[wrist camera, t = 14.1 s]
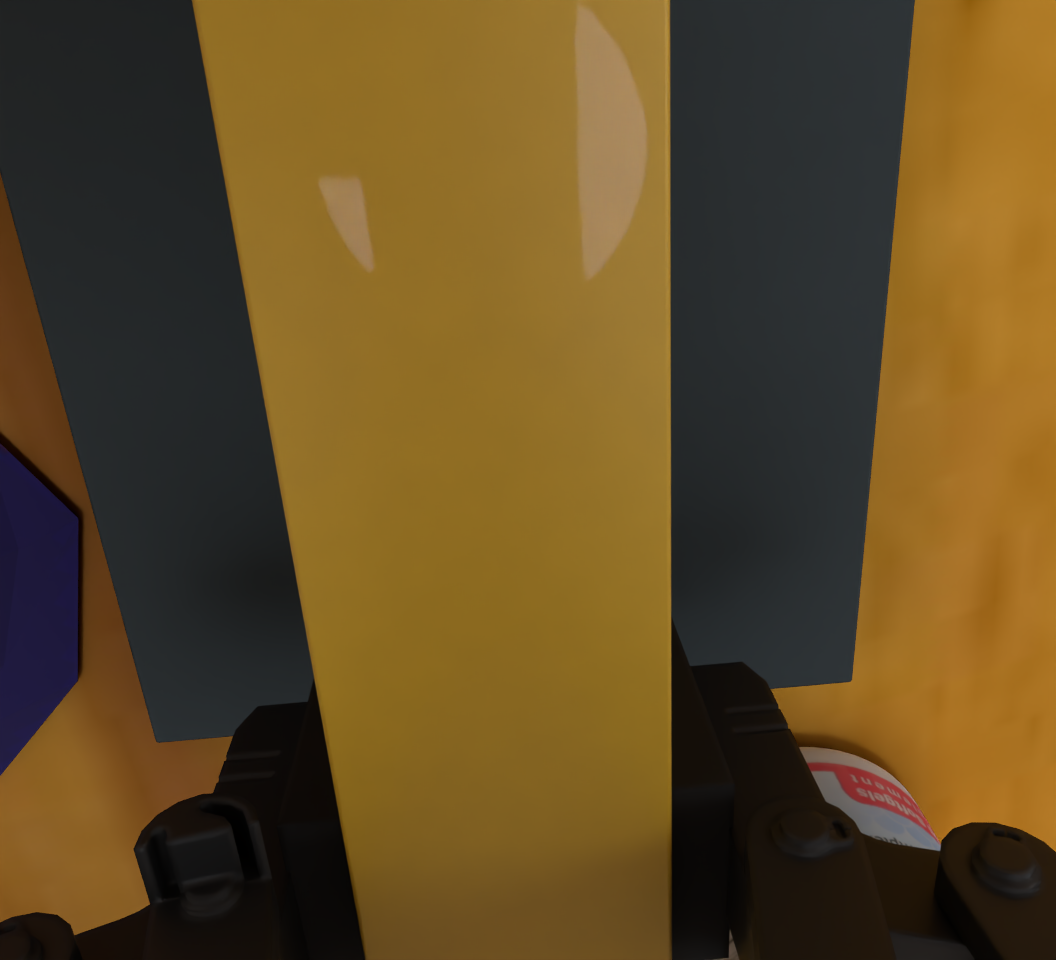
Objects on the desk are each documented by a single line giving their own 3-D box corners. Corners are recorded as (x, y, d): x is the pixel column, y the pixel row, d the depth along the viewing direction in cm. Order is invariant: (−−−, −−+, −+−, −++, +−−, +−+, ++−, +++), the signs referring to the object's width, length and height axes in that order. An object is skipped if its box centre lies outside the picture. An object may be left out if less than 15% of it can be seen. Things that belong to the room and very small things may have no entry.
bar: (213, -419, 9) (57, -727, 5) (595, -438, 9) (669, -750, 5) (409, 892, 15) (392, 1116, 12) (629, 872, 15) (673, 1088, 12)
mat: (-91, -233, 13) (-117, -247, 12) (925, -289, 13) (945, -306, 13) (164, 724, 19) (154, 744, 18) (842, 665, 19) (853, 683, 19)
